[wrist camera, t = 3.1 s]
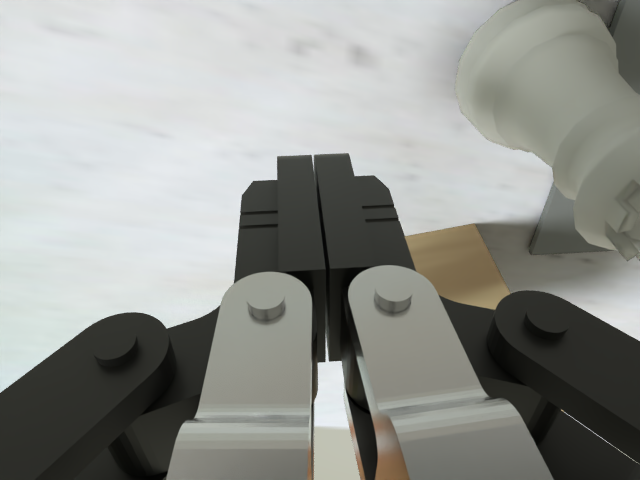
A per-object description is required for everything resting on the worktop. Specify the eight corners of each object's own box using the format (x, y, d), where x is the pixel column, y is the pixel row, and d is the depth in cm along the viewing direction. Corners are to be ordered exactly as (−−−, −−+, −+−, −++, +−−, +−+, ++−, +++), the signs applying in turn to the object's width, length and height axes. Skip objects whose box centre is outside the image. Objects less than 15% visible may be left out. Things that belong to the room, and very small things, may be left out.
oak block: (364, 244, 20) (405, 428, 14) (474, 223, 19) (566, 401, 13) (375, 314, 23) (414, 492, 17) (471, 297, 22) (546, 471, 16)
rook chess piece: (621, 1, 14) (882, 126, 8) (550, 136, 17) (705, 304, 11) (481, -25, 14) (653, 91, 7) (431, 120, 16) (526, 292, 10)
